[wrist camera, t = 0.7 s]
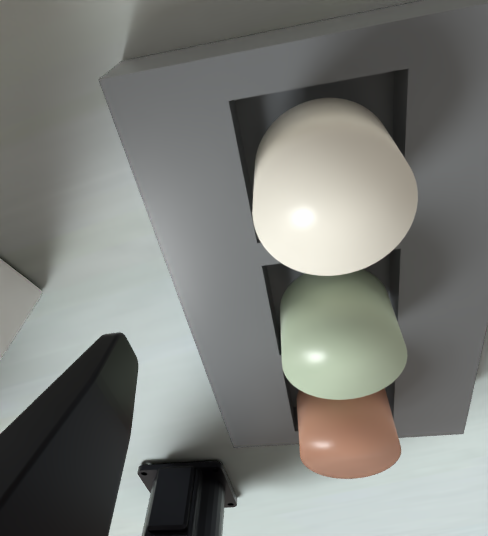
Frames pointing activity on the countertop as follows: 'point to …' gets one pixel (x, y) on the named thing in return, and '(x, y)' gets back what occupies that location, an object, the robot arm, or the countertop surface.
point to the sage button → (340, 336)
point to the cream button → (331, 189)
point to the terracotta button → (347, 435)
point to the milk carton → (14, 303)
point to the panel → (242, 185)
